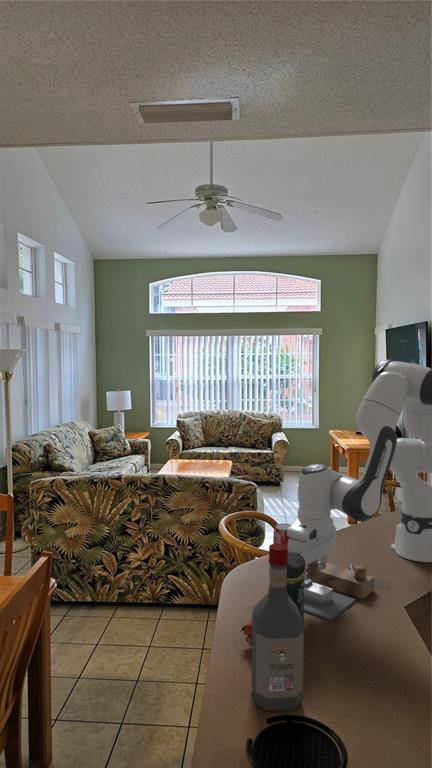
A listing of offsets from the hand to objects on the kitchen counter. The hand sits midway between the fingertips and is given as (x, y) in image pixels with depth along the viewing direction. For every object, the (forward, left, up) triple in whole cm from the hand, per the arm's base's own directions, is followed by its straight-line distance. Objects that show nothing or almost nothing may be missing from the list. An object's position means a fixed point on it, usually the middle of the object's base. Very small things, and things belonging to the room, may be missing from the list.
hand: (313, 574), depth 143 cm
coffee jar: (+19, +3, -7) cm, 20 cm away
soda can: (-15, -20, -7) cm, 26 cm away
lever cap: (0, +1, -6) cm, 6 cm away
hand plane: (-12, 0, -7) cm, 14 cm away
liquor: (+41, +15, -7) cm, 44 cm away
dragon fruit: (+28, +4, -7) cm, 30 cm away
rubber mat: (+1, 0, -7) cm, 7 cm away
